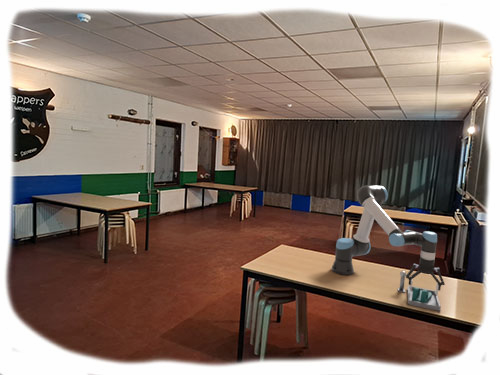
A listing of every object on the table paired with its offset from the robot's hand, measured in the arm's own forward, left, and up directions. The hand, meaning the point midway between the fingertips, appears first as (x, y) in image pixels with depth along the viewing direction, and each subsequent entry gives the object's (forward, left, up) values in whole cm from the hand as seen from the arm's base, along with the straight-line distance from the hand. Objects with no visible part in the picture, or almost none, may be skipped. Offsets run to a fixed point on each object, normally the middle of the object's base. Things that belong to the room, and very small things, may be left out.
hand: (423, 292), depth 195 cm
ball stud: (-12, +7, -4) cm, 14 cm away
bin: (0, 0, -4) cm, 4 cm away
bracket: (0, 0, -4) cm, 4 cm away
